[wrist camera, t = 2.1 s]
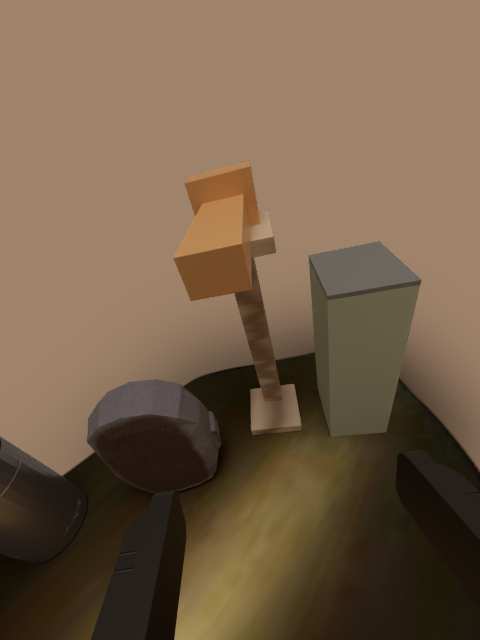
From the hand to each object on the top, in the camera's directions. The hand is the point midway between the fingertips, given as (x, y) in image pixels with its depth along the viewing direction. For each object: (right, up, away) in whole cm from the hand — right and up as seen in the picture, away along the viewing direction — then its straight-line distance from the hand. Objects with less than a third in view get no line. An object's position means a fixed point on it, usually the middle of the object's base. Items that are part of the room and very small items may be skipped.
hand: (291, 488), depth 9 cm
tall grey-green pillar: (+16, -8, +33) cm, 37 cm away
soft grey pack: (-10, -17, +32) cm, 38 cm away
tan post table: (+4, -10, +35) cm, 37 cm away
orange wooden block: (-3, +12, +13) cm, 18 cm away
